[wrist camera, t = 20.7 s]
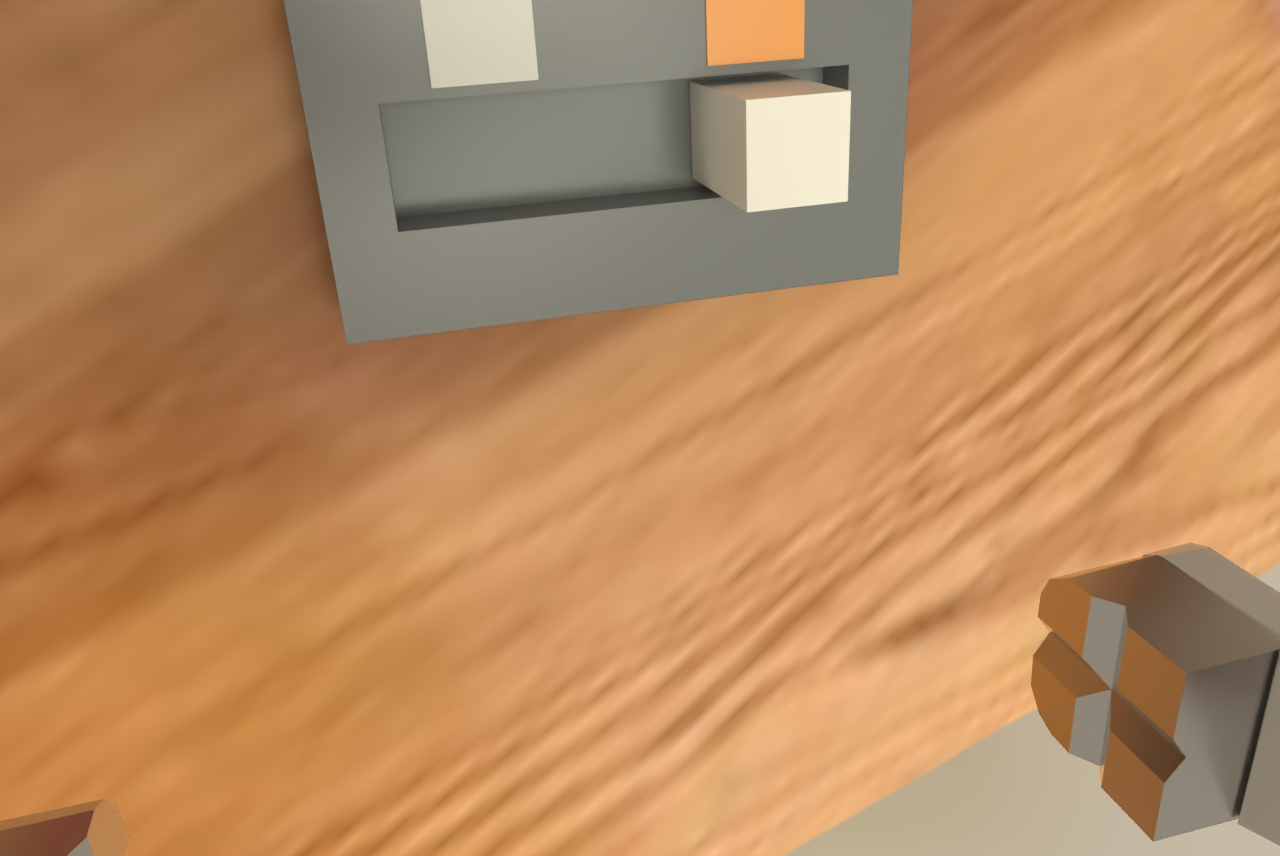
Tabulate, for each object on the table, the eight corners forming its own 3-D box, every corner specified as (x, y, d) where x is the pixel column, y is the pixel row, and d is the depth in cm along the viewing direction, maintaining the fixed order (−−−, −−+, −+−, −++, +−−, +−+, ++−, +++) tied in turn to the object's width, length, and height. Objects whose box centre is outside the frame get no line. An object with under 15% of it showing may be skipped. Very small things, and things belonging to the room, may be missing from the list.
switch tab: (692, 178, 33) (747, 212, 28) (689, 81, 32) (746, 100, 27) (779, 169, 34) (847, 201, 29) (780, 73, 32) (851, 90, 28)
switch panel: (349, 310, 34) (346, 345, 31) (289, -19, 30) (280, -18, 26) (854, 249, 37) (899, 275, 34) (864, -53, 33) (917, -56, 30)
